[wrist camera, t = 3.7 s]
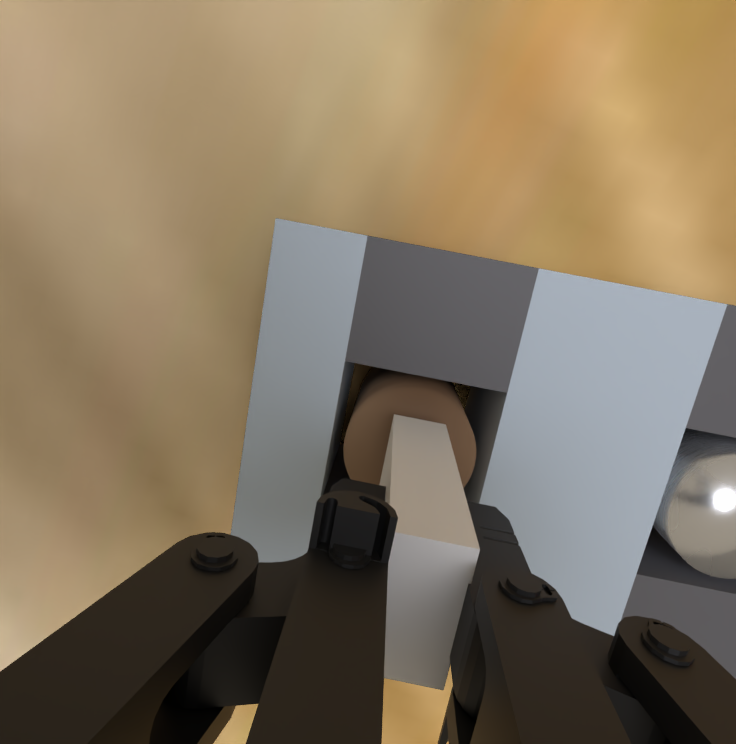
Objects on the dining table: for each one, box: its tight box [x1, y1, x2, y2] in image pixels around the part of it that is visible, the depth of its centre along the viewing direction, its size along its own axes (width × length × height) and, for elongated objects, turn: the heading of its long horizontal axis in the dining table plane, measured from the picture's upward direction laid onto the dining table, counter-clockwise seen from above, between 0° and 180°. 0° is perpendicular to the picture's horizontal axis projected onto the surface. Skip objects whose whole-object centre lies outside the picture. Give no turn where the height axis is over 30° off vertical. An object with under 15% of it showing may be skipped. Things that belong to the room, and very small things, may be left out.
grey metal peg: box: [653, 428, 736, 579], centre depth 18 cm, size 4×4×6 cm
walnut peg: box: [343, 367, 476, 488], centre depth 19 cm, size 4×4×6 cm
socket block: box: [231, 218, 736, 679], centre depth 18 cm, size 20×12×6 cm, turn 79°
